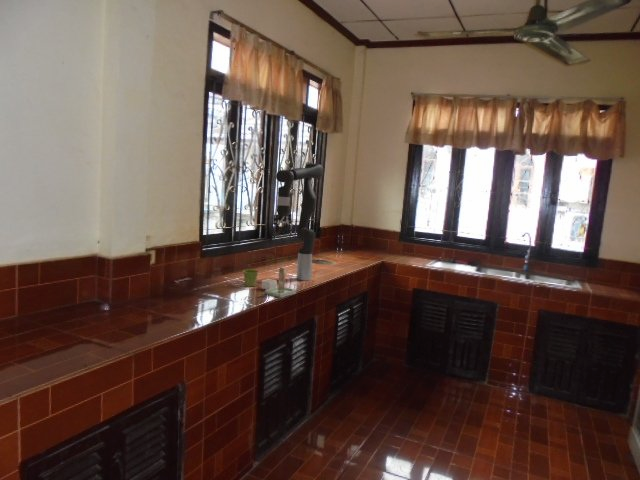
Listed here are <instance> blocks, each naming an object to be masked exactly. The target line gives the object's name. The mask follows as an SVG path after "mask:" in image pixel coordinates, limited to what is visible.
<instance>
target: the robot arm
mask: <svg viewBox="0 0 640 480" xmlns="http://www.w3.org/2000/svg"><path fill="white" fill-rule="evenodd" d="M323 174H324V167H323V166H322V165H321V164H320V163H319V164H318V163H306V164H305V166H304V167H297V168H292V169H280V170H278V171H277V172H276V175H275V178H276V180H277V181H278V183H284V185H283V186H279V187H278V190H277V199H276V213H277V214H276V213H275V214H273V219H272V225H274V226H275V227H274V230H275V233H280V225H281V224H282V223H283V224H284V232H289V227H290V225H291V224H292V214H291V213H290V210H291V209H290V208H291V206H290V203H291V199H290V198H291V188H292V187H293V183H294V181H299V180H303V189H302V199H301V206H300V208H301V209H300V215H299V222H298V225H297V226H298V227H297V231H296V238H297V240H298V242H299V243H303V245H302V247H300V248H298V250H297V251H298V253H297V264H296V265H297V266H296V279H297V280H299V281H310V280H312V275H313V274H312V273H313V262H312V261H313V251H314V248H315V243H316V241H315V240H316V233H315V230H313V229H309V226H308V225H309V222H310V219H311V217H312V216H313V215H314V212H315V210H316V207H317V206H316V205H317V196H316V193H315V191H314V188H313V185H312V184H313V183H312V180H313V179H319V178H321V177H322V176H323Z"/></svg>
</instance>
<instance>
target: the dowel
mask: <svg viewBox="0 0 640 480" xmlns="http://www.w3.org/2000/svg"><path fill="white" fill-rule="evenodd" d="M278 269H279V272H278V284H277V286H278V292H279V293H284V287H285V283H286V282H285V280H286V267H284V266H283V267H282V266H281V267H279V268H278Z"/></svg>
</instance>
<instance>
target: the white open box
mask: <svg viewBox="0 0 640 480" xmlns="http://www.w3.org/2000/svg"><path fill="white" fill-rule="evenodd" d="M277 283H278V280H275V279H270V278H267V279H262V280H261V290H264V289H265V290H269V289H273V288H277V286H278V284H277ZM265 290H264V291H265Z"/></svg>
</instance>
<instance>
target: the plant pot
mask: <svg viewBox="0 0 640 480" xmlns="http://www.w3.org/2000/svg"><path fill="white" fill-rule="evenodd" d="M242 272H243V276H244V277H243V279H244V286H246V287H255V286H256V283H257V278H258V275H259V270H256V269H243V270H242Z"/></svg>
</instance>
